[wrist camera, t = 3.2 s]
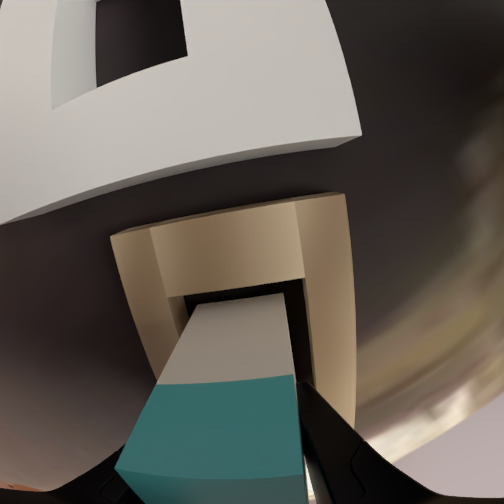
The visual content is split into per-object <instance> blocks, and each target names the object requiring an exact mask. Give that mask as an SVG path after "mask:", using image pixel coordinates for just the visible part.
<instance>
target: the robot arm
mask: <svg viewBox="0 0 504 504" xmlns="http://www.w3.org/2000/svg"><path fill="white" fill-rule="evenodd" d="M296 392H297V401H298V410H299V419H300V426H301V434H302V442H303V451H304V457H305V460H306V464H307V468H308V472H309V476H310V480H311V483H312V487H313V491H314V495H315V499H316V503H317V504H504V498H472V497H456V496H446V495H442V494H439V493H436V492H433V491H431V490H429V489H428V488H426V487H424V486H423V485H421V484H420V483H418V482H417V481H415V480H414V479H412V478H411V477H409V476H408V475H406V474H405V473H403V472H402V471H400V470H399V469H398V468H396V467H395V466H393V465H392V464H391V463H389V462H388V461H387V460H386V459H384V458H383V457H382V456H381V455H380V454H379V453H377V452H376V451H375V450H374V449H373V448H372V447H371V446H370V445H369V444H368V443H367V442H366V441H364V439H363V438H362V437H361V436H360V435H359V434H358V433H357V432H356V431H355V430H354V429H353V428H352V427H351V426H350V425H349V424H348V423H347V422H346V421H345V420H344V419H343V418H342V417H341V415H340V414H339V413H338V412H337V411H336V410H335V409H334V408H333V407H332V406H331V405H330V404H329V403H328V402H327V401H326V400H325V399H324V398H323V397H322V395H321V394H320V393H319V392H318V391H317V390H316V389H315V388H314V387H313V386H312V385H311V384H310V383H309V382H308V381H302V382H296ZM125 445H126V444H125ZM125 445H123V446H122V447H121V448H120V449H118V451H116V452H114V453H113V454H112V455H111V456H109V457H108V458H106V459H105V460H104V461H102V462H101V463H100V464H98V465H97V466H95V467H94V468H92V469H90V470H89V471H87V472H86V473H84V474H82V475H81V476H79V477H77V478H76V479H74V480H72V481H70V482H69V483H67V484H65V485H63V486H61V487H59V488H57V489H55V490H52V491H46V492H34V491H21V490H12V489H4V488H0V504H145V503H144V502H143V501H142V500H141V498H140V497H139V496H138V495H137V494H136V493H135V492H134V491H133V490H132V489H131V487H130V486H129V485H128V484H127V483H126V482H125V481H124V479H123V478H122V477H121V476H120V475H119V473H118V472H117V471H116V470H115V465H116V463H117V461H118V459H119V457H120V455H121V453H122V451H123V449H124V447H125Z"/></svg>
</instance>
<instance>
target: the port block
mask: <svg viewBox="0 0 504 504" xmlns="http://www.w3.org/2000/svg"><path fill="white" fill-rule="evenodd" d="M98 1H100V0H3V2H2V5H1V9H0V225H3V224H6V223H10V222H14V221H18V220H21V219H25V218H29V217H33V216H37V215H42V214H45V213H47V212H50V211H53V210H56V209H59V208H62V207H65V206H68V205H71V204H74V203H77V202H80V201H83V200H86V199H89V198H92V197H95V196H99V195H102V194H105V193H109V192H112V191H115V190H119V189H122V188H126V187H129V186H133V185H137V184H140V183H144V182H148V181H152V180H156V179H160V178H164V177H168V176H172V175H176V174H180V173H185V172H189V171H194V170H198V169H203V168H208V167H212V166H217V165H222V164H227V163H232V162H238V161H243V160H249V159H254V158H260V157H266V156H272V155H279V154H285V153H292V152H299V151H307V150H314V149H322V148H331V147H336V146H338V145H341V144H343V143H345V142H348V141H350V140H352V139H355V138H357V137H359V136H362V132H361V127H360V122H359V117H358V112H357V108H356V103H355V99H354V95H353V90H352V86H351V82H350V78H349V75H348V71H347V67H346V63H345V60H344V56H343V53H342V50H341V46H340V43H339V40H338V36H337V33H336V30H335V27H334V24H333V21H332V18H331V15H330V13H329V10H328V7H327V4H326V1H325V0H180V2H181V9H182V17H183V24H184V31H185V38H186V45H187V52H188V56H187V57H183V58H180V59H176V60H173V61H169V62H166V63H163V64H160V65H156V66H153V67H150V68H147V69H144V70H142V71H139V72H136V73H133V74H131V75H128V76H125V77H123V78H120V79H118V80H115V81H113V82H110V83H108V84H105V85H103V86H101V87H98V88H97V85H96V63H95V20H96V2H98Z"/></svg>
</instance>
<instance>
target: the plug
mask: <svg viewBox="0 0 504 504" xmlns="http://www.w3.org/2000/svg"><path fill="white" fill-rule="evenodd" d="M115 470H116V471H117V472H118V473H119V475H120V476H121V477H122V478H123V479H124V481H125V482H126V483H127V484H128V485H129V486H130V487H131V489H132V490H133V491H134V492H135V493H136V494H137V495H138V496H139V497H140V498H141V500H142V501H143V502H144V503H145V504H309V498H308V487H307V476H306V465H305V457H304V451H303V442H302V434H301V426H300V419H299V410H298V401H297V392H296V378H295V370H294V363H293V356H292V349H291V342H290V335H289V328H288V321H287V314H286V308H285V301H284V295H283V293H277V294H271V295H264V296H258V297H251V298H244V299H237V300H229V301H222V302H214V303H207V304H199V305H197V307H196V308H195V310H194V312H193V314H192V316H191V318H190V320H189V322H188V323H187V325H186V327H185V329H184V331H183V333H182V335H181V337H180V339H179V341H178V342H177V344H176V346H175V348H174V350H173V352H172V354H171V356H170V358H169V360H168V362H167V364H166V366H165V367H164V369H163V371H162V373H161V375H160V377H159V379H158V381H157V383H156V385H155V387H154V389H153V391H152V393H151V395H150V397H149V399H148V401H147V403H146V405H145V407H144V409H143V411H142V413H141V415H140V417H139V419H138V421H137V423H136V425H135V427H134V429H133V431H132V433H131V435H130V437H129V439H128V441H127V443H126V445H125V447H124V449H123V451H122V453H121V455H120V457H119V459H118V461H117V463H116V465H115Z"/></svg>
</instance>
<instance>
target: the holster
mask: <svg viewBox="0 0 504 504" xmlns="http://www.w3.org/2000/svg"><path fill="white" fill-rule="evenodd" d="M110 239H111V243H112V247H113V251H114V255H115V259H116V263H117V266H118V270H119V274H120V277H121V281H122V284H123V287H124V291H125V294H126V297H127V300H128V304H129V307H130V310H131V313H132V316H133V319H134V322H135V325H136V328H137V330H138V333H139V336H140V339H141V341H142V344H143V347H144V350H145V352H146V355H147V357H148V360H149V362H150V365H151V367H152V370H153V372H154V375H155V377H156V380H157V381H158V379H159V377H160V375H161V373H162V371H163V369H164V367H165V366H166V364H167V362H168V360H169V358H170V356H171V354H172V352H173V350H174V348H175V346H176V344H177V342H178V341H179V339H180V337H181V335H182V333H183V331H184V329H185V327H186V325H187V323H188V322H189V320H190V319H189V315H188V312H187V308H186V304H185V301H184V297H183V295H190V294H197V293H205V292H212V291H220V290H227V289H234V288H241V287H247V286H254V285H261V284H268V283H274V282H280V281H287V280H293V279H299V278H302V282H303V290H304V298H305V306H306V315H307V324H308V333H309V342H310V351H311V362H312V372H313V383H314V388H315V389H316V390H317V391H318V392H319V393H320V394H321V395H322V397H323V398H324V399H325V400H326V401H327V402H328V403H329V404H330V405H331V406H332V407H333V408H334V409H335V410H336V411H337V412H338V413H339V414H340V415H341V417H342V418H343V419H344V420H345V421H346V422H347V423H348V424H349V425H350V426H351V427H352V428H353V429H354V421H355V400H356V318H355V296H354V279H353V266H352V254H351V243H350V233H349V224H348V215H347V207H346V200H345V194H342V193H338V192H327V193H320V194H313V195H306V196H299V197H293V198H287V199H280V200H274V201H268V202H262V203H256V204H250V205H244V206H239V207H233V208H227V209H222V210H216V211H211V212H206V213H201V214H195V215H190V216H185V217H180V218H175V219H170V220H166V221H161V222H156V223H151V224H147V225H142V226H138V227H133V228H129V229H126V230H124V231H121V232H119V233H117V234H114V235H112V236H110Z"/></svg>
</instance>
